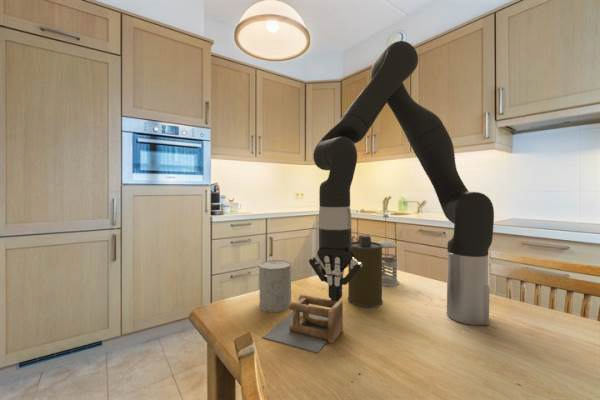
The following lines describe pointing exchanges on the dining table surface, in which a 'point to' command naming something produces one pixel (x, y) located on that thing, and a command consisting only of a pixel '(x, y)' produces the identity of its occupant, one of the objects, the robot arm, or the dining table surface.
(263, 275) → the grey mottled cylinder
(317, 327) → the mat
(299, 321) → the wooden dowel frame
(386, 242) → the french press
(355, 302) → the canister
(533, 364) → the dining table surface
